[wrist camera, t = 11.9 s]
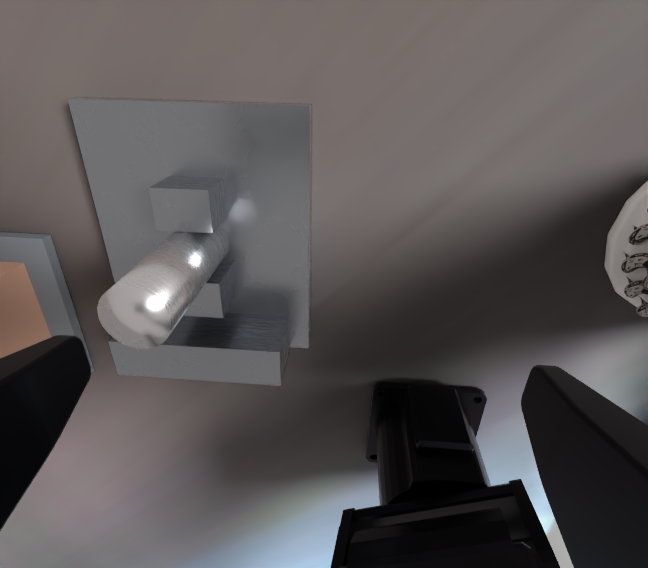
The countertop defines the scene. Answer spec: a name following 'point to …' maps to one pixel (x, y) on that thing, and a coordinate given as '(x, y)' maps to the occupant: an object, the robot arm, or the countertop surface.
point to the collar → (19, 310)
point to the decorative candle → (630, 251)
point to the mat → (44, 280)
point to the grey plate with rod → (202, 233)
